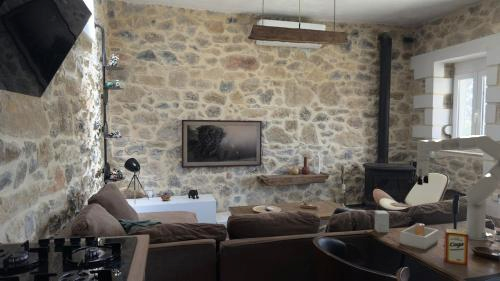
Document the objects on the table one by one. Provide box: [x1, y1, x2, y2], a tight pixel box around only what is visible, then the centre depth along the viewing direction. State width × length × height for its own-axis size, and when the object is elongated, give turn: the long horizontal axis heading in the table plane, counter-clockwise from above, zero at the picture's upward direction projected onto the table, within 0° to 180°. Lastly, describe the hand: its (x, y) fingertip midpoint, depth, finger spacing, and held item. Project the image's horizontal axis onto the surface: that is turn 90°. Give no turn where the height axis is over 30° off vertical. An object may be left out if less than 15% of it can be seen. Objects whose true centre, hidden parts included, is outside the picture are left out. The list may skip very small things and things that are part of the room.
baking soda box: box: [443, 228, 469, 266], centre depth 175 cm, size 10×6×16 cm
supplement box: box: [374, 210, 390, 233], centre depth 226 cm, size 7×7×13 cm
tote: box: [399, 224, 439, 250], centre depth 204 cm, size 20×14×7 cm
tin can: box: [414, 222, 426, 237], centre depth 204 cm, size 5×5×10 cm
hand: (422, 184), depth 230 cm, fingers open, 9 cm apart
